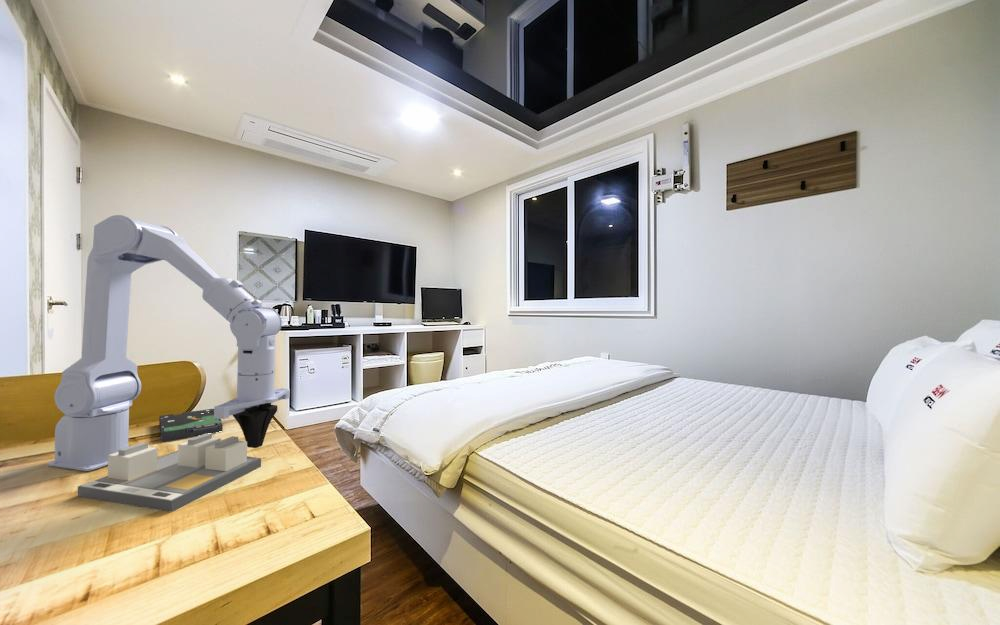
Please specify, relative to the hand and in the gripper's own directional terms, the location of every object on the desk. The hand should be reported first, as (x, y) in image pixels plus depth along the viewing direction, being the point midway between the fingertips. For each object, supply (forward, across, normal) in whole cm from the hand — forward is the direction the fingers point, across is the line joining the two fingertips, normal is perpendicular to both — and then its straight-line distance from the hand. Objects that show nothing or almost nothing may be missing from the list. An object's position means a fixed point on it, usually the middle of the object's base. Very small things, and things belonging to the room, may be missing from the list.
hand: (254, 446), depth 68 cm
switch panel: (+3, -9, +6) cm, 11 cm away
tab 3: (+1, -6, 0) cm, 6 cm away
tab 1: (+1, -12, +11) cm, 16 cm away
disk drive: (+3, +11, +28) cm, 31 cm away
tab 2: (+1, -6, +5) cm, 8 cm away
